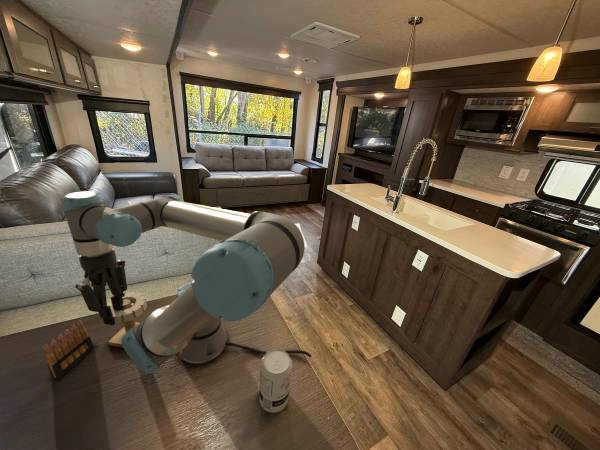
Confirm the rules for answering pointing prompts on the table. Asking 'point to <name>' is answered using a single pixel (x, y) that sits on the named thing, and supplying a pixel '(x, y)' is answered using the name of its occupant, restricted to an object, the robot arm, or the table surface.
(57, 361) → the ammunition clip
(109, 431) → the table surface
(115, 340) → the post stand
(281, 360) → the supplement can
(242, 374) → the table surface
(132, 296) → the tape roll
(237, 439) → the table surface
